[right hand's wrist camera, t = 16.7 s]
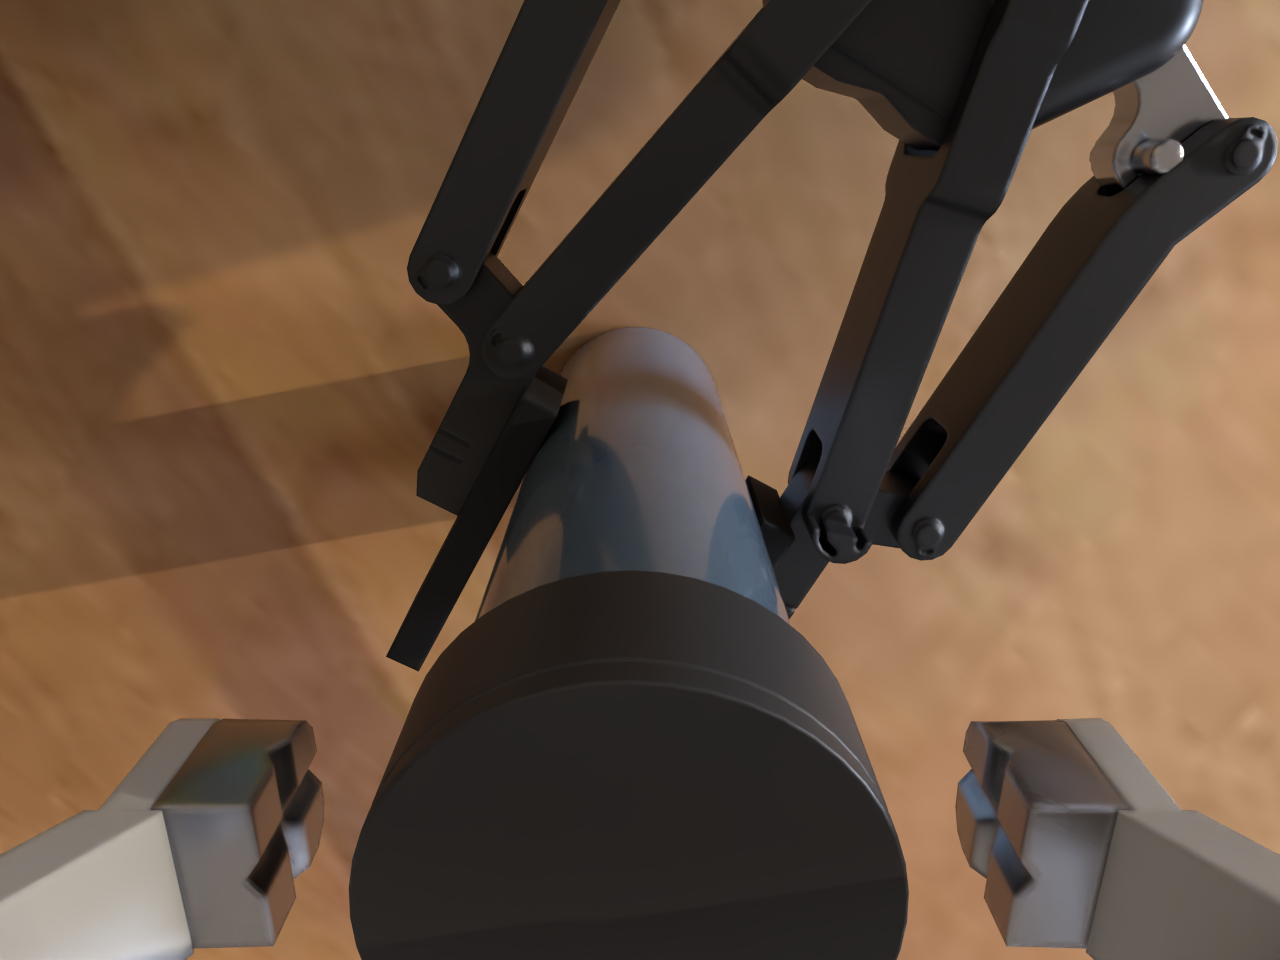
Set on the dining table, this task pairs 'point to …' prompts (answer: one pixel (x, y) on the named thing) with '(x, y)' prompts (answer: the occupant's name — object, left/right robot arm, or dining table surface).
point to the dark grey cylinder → (636, 479)
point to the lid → (629, 791)
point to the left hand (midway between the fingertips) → (524, 679)
